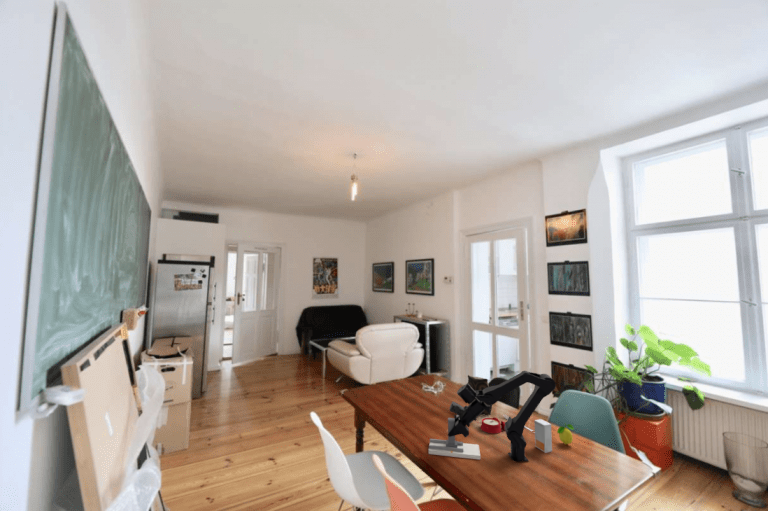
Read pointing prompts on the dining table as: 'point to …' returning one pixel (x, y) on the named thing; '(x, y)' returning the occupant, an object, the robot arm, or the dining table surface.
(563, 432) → the lemon
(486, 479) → the dining table surface
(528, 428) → the fork
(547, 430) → the skincare box
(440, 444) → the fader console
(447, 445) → the fader tab
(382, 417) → the dining table surface
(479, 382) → the owl
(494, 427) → the alarm clock
